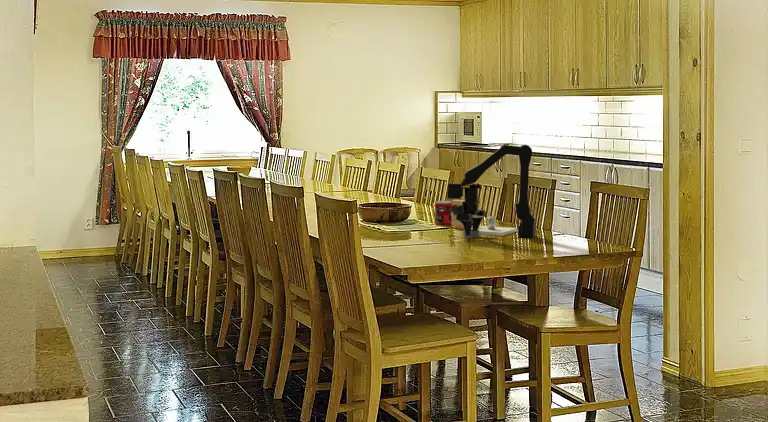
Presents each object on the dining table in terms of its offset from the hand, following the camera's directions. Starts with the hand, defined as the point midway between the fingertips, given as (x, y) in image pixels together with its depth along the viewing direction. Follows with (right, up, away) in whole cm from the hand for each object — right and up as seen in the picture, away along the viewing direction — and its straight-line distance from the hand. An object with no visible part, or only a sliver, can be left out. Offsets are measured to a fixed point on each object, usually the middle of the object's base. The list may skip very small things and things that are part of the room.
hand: (471, 234), depth 411 cm
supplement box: (-2, +2, +29) cm, 29 cm away
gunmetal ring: (0, -1, 0) cm, 1 cm away
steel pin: (+10, +2, +14) cm, 17 cm away
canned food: (-9, +4, +43) cm, 45 cm away
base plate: (+10, +1, +14) cm, 17 cm away
